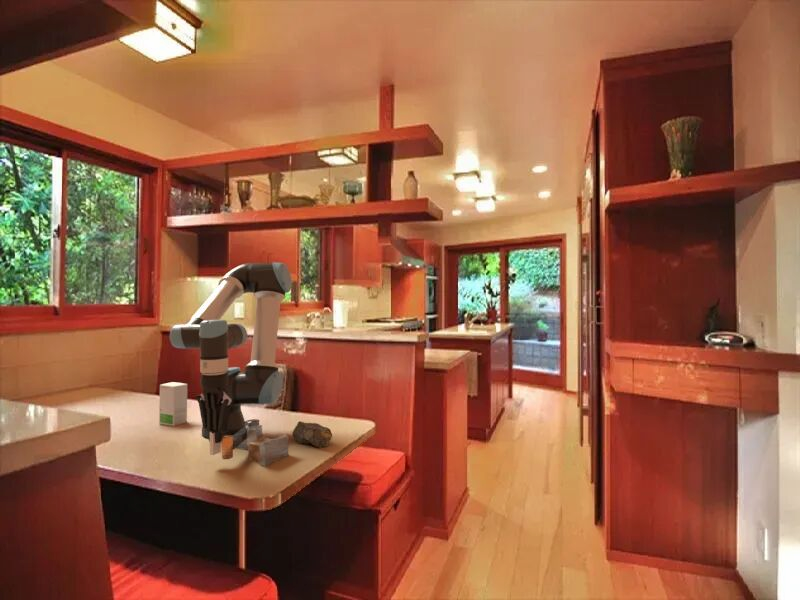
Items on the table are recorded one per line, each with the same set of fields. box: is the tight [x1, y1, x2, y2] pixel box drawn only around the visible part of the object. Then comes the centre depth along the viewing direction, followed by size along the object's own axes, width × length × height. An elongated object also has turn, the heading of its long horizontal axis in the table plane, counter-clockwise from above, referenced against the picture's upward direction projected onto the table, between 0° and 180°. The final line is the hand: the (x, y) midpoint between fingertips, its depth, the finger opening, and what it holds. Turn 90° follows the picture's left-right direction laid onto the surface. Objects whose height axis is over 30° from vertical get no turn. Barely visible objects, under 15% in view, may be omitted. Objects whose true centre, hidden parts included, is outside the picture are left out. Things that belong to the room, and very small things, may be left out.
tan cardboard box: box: [248, 437, 273, 463], centre depth 133 cm, size 5×6×5 cm
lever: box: [221, 418, 263, 460], centre depth 135 cm, size 7×23×6 cm, turn 178°
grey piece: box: [235, 434, 289, 467], centre depth 138 cm, size 21×16×6 cm
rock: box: [291, 421, 333, 448], centre depth 146 cm, size 17×7×10 cm
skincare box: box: [158, 381, 188, 427], centre depth 171 cm, size 8×7×16 cm
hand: (215, 453), depth 126 cm, fingers closed
